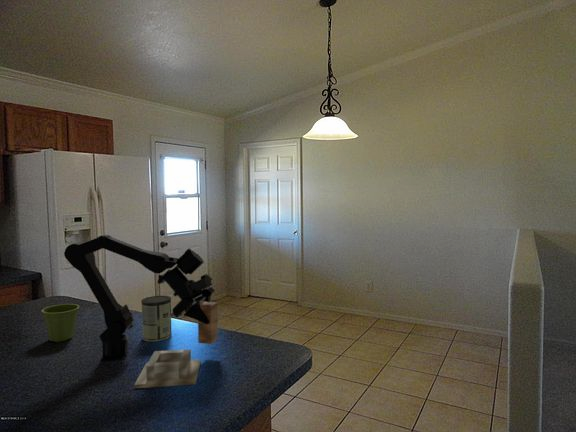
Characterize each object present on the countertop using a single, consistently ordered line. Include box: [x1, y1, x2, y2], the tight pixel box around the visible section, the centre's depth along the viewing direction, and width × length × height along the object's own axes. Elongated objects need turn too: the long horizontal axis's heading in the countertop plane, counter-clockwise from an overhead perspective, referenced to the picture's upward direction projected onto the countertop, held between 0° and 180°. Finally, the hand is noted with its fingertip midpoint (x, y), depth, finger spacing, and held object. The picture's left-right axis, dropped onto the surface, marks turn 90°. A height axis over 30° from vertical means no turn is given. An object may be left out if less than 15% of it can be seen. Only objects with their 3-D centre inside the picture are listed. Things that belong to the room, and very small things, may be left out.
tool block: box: [133, 348, 202, 389], centre depth 108 cm, size 16×14×5 cm
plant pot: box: [41, 303, 81, 343], centre depth 136 cm, size 12×12×11 cm
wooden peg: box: [197, 301, 219, 345], centre depth 120 cm, size 4×4×12 cm
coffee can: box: [140, 295, 172, 343], centre depth 138 cm, size 10×10×14 cm
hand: (211, 320), depth 119 cm, fingers closed on wooden peg, 4 cm apart
